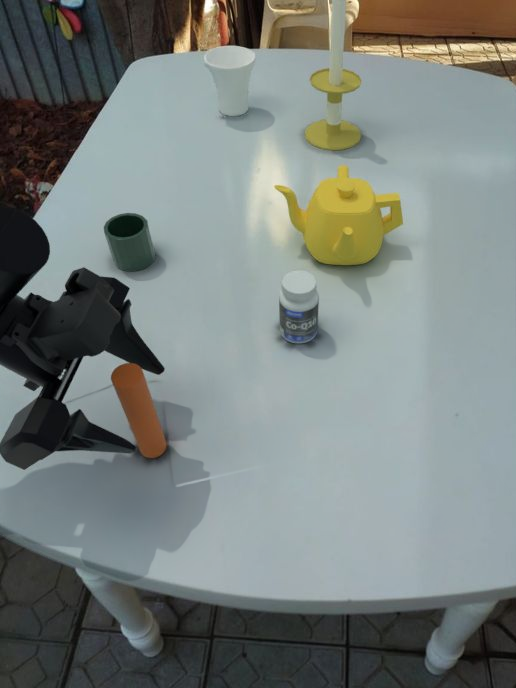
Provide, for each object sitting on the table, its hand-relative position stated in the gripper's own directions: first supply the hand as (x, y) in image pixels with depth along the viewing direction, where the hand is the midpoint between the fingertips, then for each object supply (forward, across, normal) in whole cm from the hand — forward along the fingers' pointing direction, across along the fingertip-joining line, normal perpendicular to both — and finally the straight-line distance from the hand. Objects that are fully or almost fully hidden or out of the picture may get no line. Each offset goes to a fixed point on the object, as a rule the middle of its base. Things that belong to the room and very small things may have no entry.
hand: (148, 409), depth 57 cm
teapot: (+16, +35, -6) cm, 39 cm away
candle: (+14, +66, -3) cm, 67 cm away
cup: (0, +71, +10) cm, 72 cm away
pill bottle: (+14, +18, -3) cm, 23 cm away
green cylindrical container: (-4, +29, +14) cm, 32 cm away
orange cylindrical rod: (+4, 0, +6) cm, 7 cm away
